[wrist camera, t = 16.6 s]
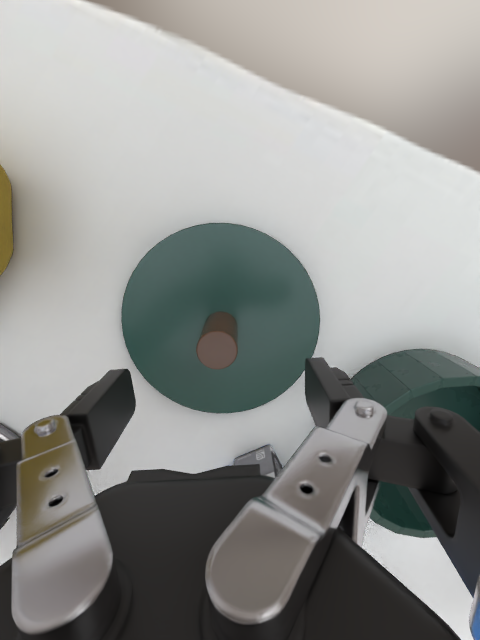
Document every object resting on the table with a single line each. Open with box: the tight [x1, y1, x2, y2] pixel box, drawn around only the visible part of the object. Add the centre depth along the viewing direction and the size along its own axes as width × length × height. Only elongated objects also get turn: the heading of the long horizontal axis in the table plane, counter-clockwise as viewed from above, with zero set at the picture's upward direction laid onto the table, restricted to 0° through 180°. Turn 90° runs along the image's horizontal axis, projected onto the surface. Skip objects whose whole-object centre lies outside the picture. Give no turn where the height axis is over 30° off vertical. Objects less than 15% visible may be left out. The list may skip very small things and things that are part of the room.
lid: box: [122, 223, 320, 413], centre depth 19 cm, size 14×14×6 cm
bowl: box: [351, 349, 480, 538], centre depth 22 cm, size 13×13×5 cm
